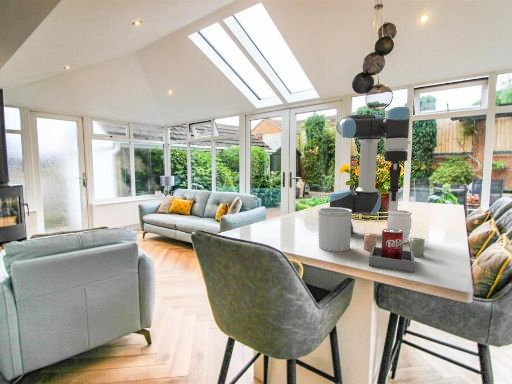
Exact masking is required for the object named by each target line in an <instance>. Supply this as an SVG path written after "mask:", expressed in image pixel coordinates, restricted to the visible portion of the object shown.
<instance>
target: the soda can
mask: <svg viewBox="0 0 512 384" xmlns="http://www.w3.org/2000/svg"><path fill="white" fill-rule="evenodd" d="M380 247H381V257H383V258H390V259H397V260H402V255H403V250H404V243H403V232H402V230H398V229H388V228H384V229H382V230H381V246H380Z"/></svg>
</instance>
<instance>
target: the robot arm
mask: <svg viewBox="0 0 512 384" xmlns="http://www.w3.org/2000/svg"><path fill="white" fill-rule="evenodd" d="M410 119H411V115H410V108H409V107H408V106H396V107H390V108H388V109H387V110H386V116H385V117H384V116H383V115H382V114H375V113H373V114H372V113H371V114H370V113H369V114H351V115H350V114H349V115H346V116H343V117H341V118H340V119H339V120H338V121H337V122H336V125H335V129H336V131H337V133H338V134H339V135H340V136H341V138H343V139H344V138H345V139H346V138H347V139H356V138H357V141H358V142H359V144H360V145H359V169H358V170H359V171H358V187H356V189H355V193H354V192H352V190H339V191H333V192H331V193H330V195H329V207H337V208H347V209H351V210H352V214H353V215H357V214H358V215H368V216H369V215H376V214H378V212H379V211H380V208H381V206H382V205H381V204H382V195H381V193H379V190H378V189H377V188H376V179H377V178H376V175H377V160H378V159H377V158H378V156H377V155H378V144H379V142H381V140H382V138H383V139H385V140H384V150H385V152H384V161H385V162H391V164H390V166H389V168H388V169H389V177H390V184H389V188H387V193H389V195H388V197H389V199H388V211H389V210H394V211H397V210H398V206H399V190H401V186H400V185H399V183H400V182H399V181H400V180H399V178H400V177H401V172H402V166H400V162H407V161H408V154H409V153H408V151H407V150H408V148H409V147H408V146H409V144H411V141H410V140H409V137H410V135H409V134H410V131H409V130H410ZM352 214H351V215H352ZM354 231H355V230H354V226H353V222H352V221H351V234H350V235H352V234H353V233H354Z"/></svg>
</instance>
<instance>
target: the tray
mask: <svg viewBox="0 0 512 384" xmlns="http://www.w3.org/2000/svg"><path fill="white" fill-rule="evenodd" d="M381 247H382V246H380V247H379V246H376V247H372V250H371V251H370V254H369V255H368V266H369V267H376V268H380V269H381V268H382V269H388V270H394V271H401V272H408V273H413V274H414V273H415V257H414V255H413V251H410V250H405V249H403V255H402V260H397V259H390V258H383V257H381Z"/></svg>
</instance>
